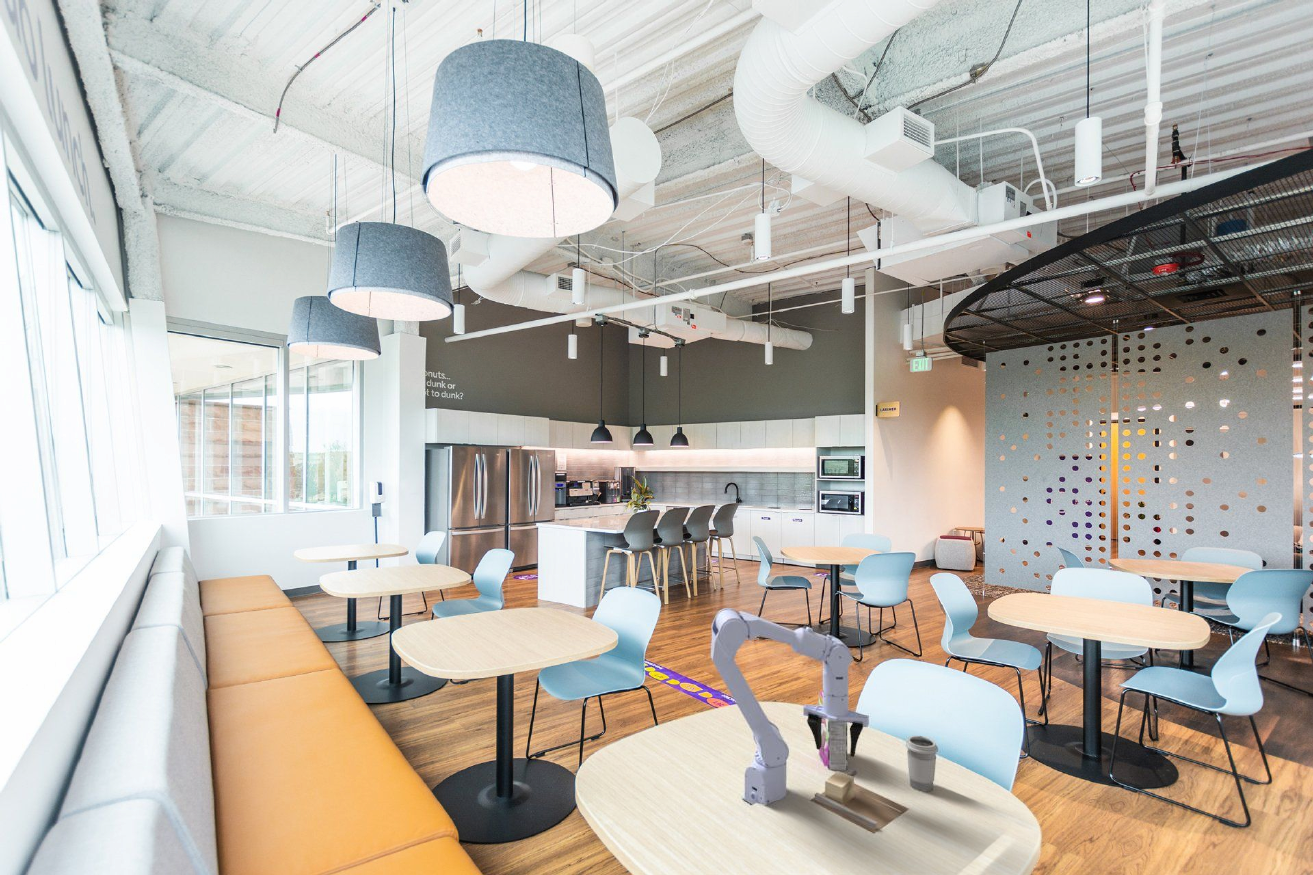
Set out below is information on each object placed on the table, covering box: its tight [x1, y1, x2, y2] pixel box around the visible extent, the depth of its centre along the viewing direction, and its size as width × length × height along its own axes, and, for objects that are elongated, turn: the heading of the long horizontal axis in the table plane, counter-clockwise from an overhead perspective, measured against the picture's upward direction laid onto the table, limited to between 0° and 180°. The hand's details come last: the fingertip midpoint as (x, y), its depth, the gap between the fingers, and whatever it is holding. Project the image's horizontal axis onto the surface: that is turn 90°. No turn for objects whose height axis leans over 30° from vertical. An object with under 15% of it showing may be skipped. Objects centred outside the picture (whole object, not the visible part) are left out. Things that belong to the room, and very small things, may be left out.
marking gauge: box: [824, 769, 858, 806], centre depth 150 cm, size 10×4×4 cm, turn 139°
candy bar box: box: [818, 691, 848, 771], centre depth 167 cm, size 11×5×16 cm, turn 179°
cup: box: [905, 735, 939, 793], centre depth 154 cm, size 7×7×12 cm
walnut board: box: [809, 782, 910, 834], centre depth 146 cm, size 14×16×3 cm
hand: (835, 751), depth 152 cm, fingers open, 7 cm apart
